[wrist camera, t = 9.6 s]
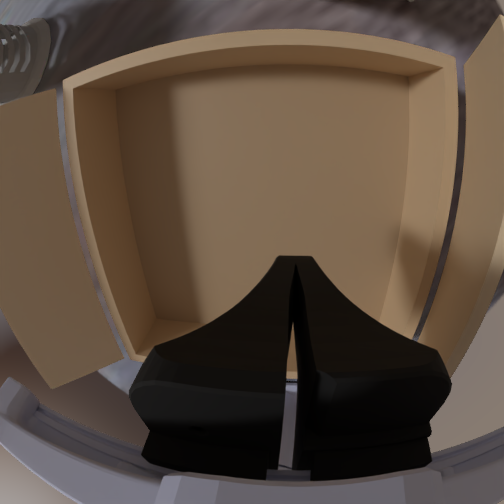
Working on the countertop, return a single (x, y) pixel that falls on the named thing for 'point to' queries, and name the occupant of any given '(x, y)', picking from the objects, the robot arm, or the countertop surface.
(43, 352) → the flap
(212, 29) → the countertop surface
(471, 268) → the flap
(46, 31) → the french press
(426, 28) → the countertop surface
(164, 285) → the carton
